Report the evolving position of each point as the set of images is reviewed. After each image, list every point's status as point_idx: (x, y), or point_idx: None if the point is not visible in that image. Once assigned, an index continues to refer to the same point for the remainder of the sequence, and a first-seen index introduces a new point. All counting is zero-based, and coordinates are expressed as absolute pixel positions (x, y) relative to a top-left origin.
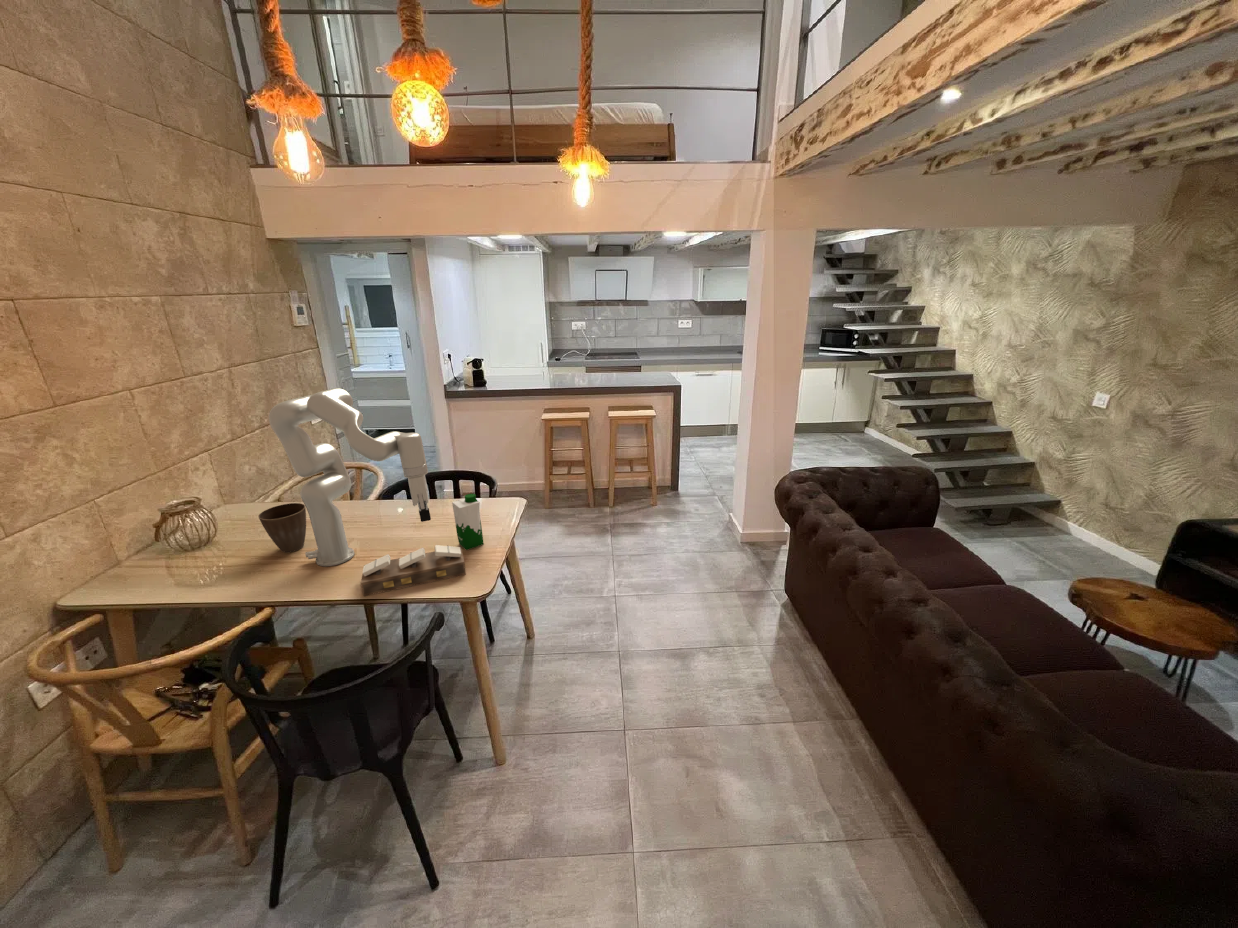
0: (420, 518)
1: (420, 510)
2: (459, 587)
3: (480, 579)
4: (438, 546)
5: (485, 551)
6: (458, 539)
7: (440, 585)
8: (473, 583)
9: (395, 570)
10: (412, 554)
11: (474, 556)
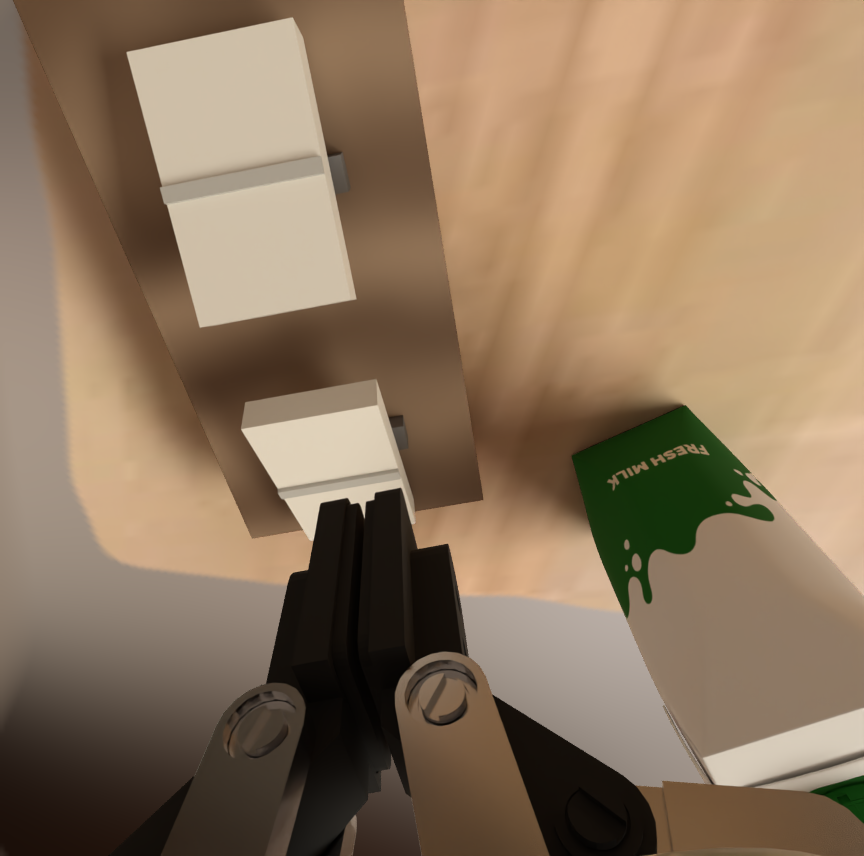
0: (315, 539)
1: (227, 744)
2: (128, 463)
3: (209, 548)
4: (358, 426)
5: (517, 547)
6: (673, 435)
7: (150, 359)
8: (169, 522)
9: (134, 4)
10: (277, 190)
11: (475, 502)
